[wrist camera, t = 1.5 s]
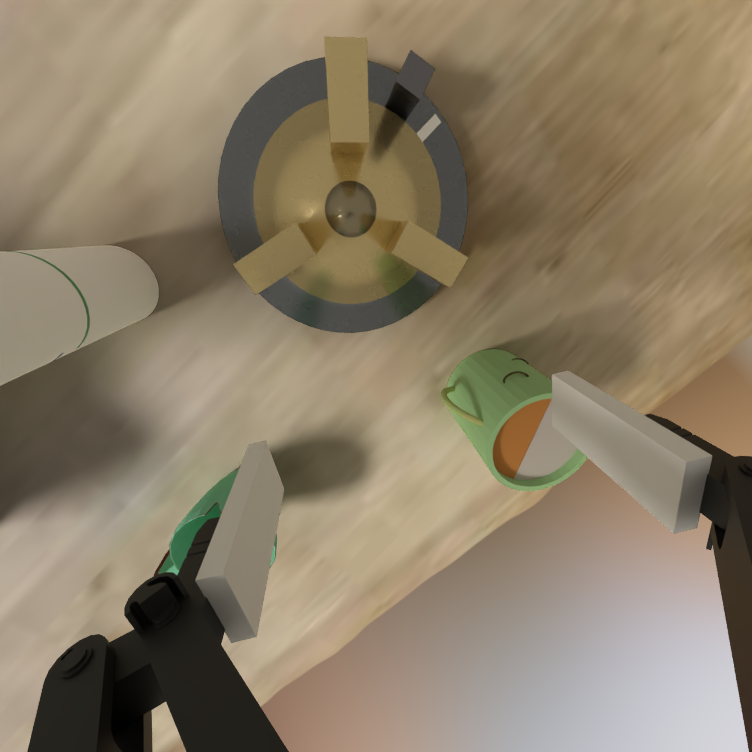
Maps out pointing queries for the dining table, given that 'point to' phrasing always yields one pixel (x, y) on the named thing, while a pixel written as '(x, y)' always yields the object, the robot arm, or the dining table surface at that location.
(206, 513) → the mug
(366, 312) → the ring
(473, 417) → the mug
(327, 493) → the dining table surface
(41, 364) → the cylindrical container
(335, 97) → the three-jaw lathe chuck
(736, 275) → the dining table surface
